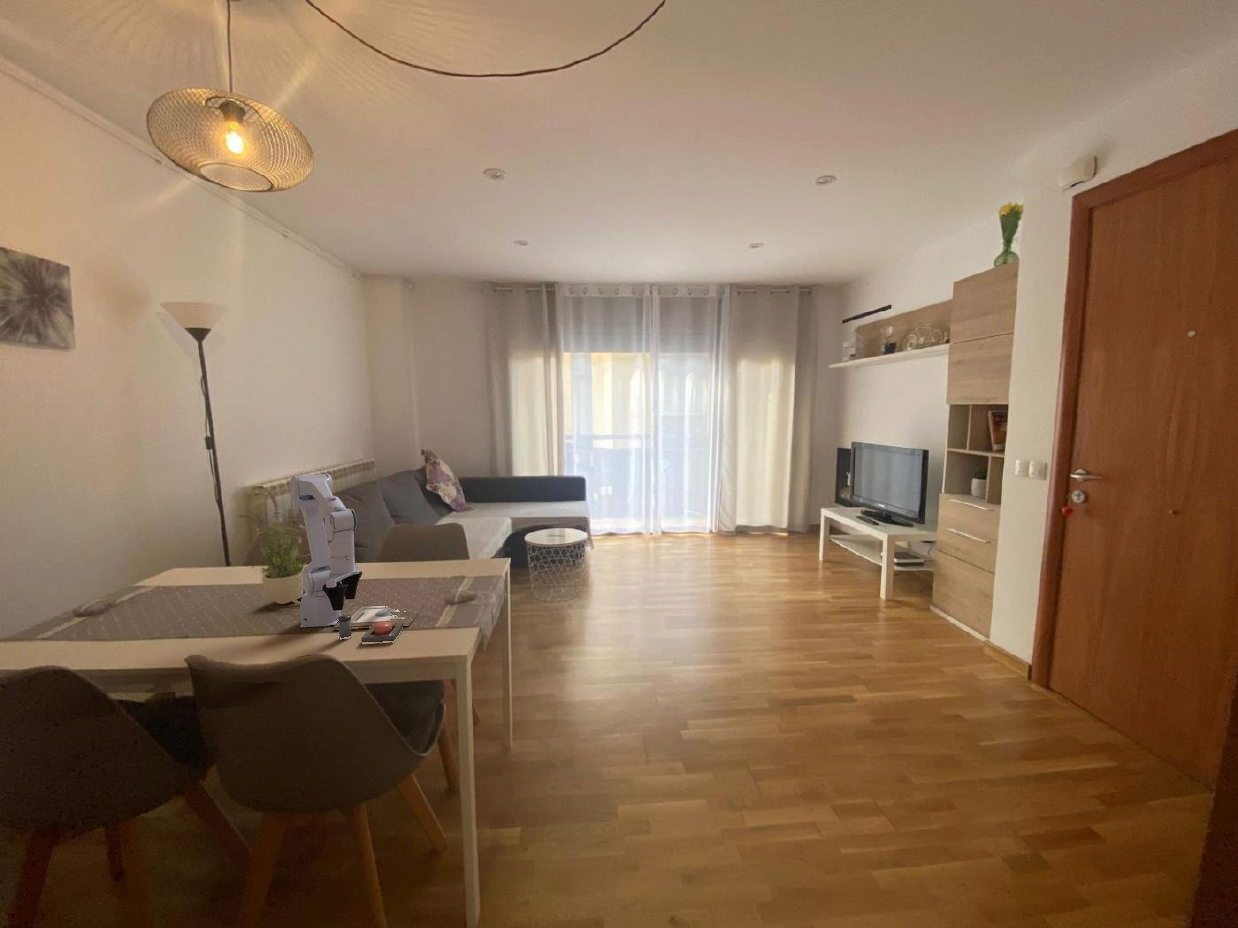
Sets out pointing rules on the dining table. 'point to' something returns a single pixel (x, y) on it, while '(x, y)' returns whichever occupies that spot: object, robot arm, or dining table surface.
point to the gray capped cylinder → (344, 625)
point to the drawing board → (370, 615)
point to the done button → (383, 628)
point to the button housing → (371, 637)
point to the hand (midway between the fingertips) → (344, 604)
